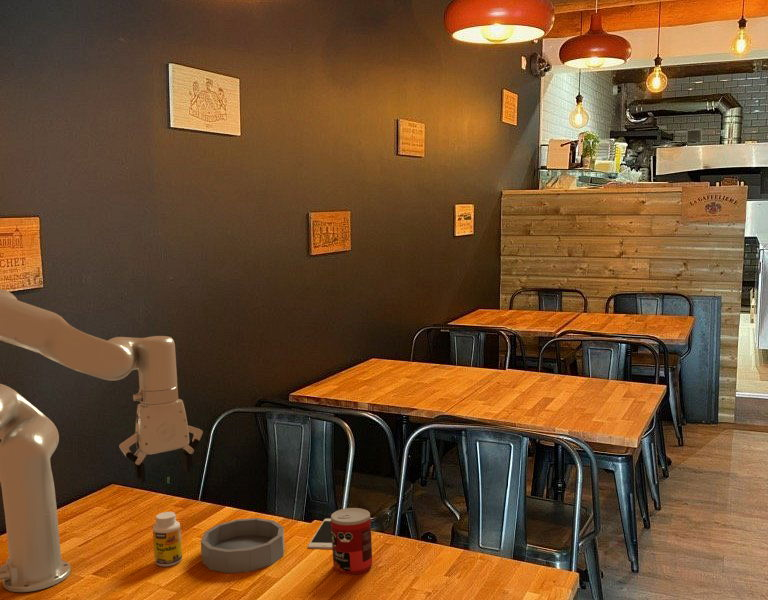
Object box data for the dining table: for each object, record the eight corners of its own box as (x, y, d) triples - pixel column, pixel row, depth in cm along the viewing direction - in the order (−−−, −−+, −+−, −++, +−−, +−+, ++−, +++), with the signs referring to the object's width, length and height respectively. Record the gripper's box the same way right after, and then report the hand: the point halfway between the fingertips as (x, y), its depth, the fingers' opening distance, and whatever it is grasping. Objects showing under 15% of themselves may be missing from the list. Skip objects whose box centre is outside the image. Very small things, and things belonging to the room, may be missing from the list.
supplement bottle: (153, 569, 157) (149, 521, 156) (157, 557, 162) (153, 511, 161) (180, 566, 158) (177, 518, 157) (184, 554, 163) (180, 509, 162)
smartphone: (307, 550, 164) (307, 545, 164) (325, 521, 179) (324, 517, 179) (339, 551, 163) (339, 546, 162) (354, 522, 178) (354, 518, 178)
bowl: (221, 580, 150) (220, 558, 150) (191, 552, 164) (190, 532, 164) (298, 556, 160) (296, 535, 159) (263, 531, 174) (262, 512, 173)
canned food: (328, 563, 156) (325, 512, 155) (364, 555, 159) (361, 504, 158) (341, 579, 149) (338, 525, 148) (378, 570, 152) (376, 517, 151)
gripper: (122, 406, 149) (128, 490, 151) (205, 392, 159) (210, 471, 161) (111, 399, 155) (117, 480, 157) (192, 387, 165) (197, 463, 167)
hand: (164, 476), depth 159 cm, fingers open, 9 cm apart
